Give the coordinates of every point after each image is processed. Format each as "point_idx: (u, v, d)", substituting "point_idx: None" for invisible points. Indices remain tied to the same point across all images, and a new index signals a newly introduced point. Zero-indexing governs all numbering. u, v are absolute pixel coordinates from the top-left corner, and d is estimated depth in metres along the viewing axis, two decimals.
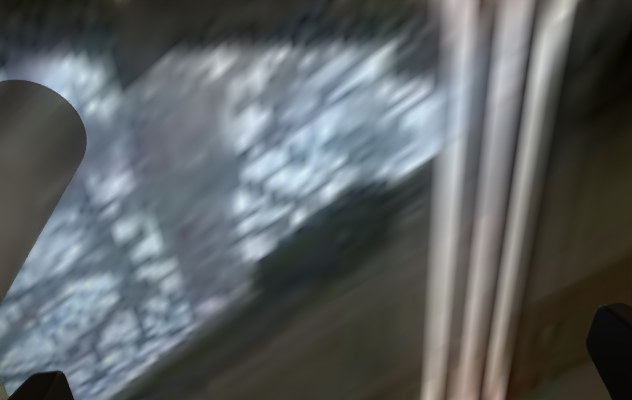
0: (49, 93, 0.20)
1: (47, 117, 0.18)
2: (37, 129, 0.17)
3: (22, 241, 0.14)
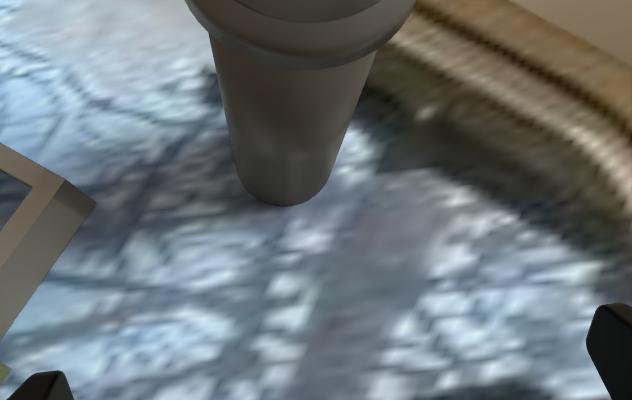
0: None
1: None
2: None
3: (348, 118, 0.16)
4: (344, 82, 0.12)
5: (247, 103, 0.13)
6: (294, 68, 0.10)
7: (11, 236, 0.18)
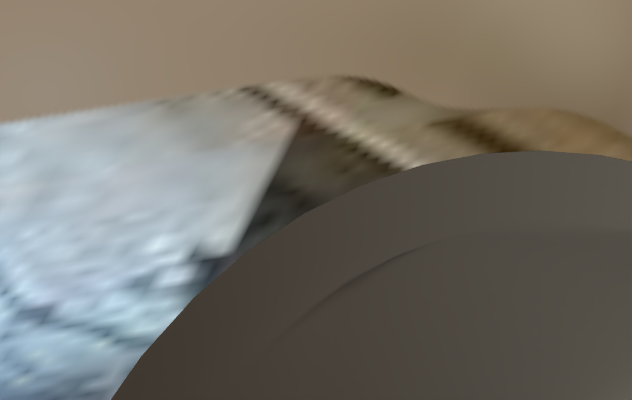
0: None
1: None
2: None
3: None
4: None
5: None
6: None
7: None
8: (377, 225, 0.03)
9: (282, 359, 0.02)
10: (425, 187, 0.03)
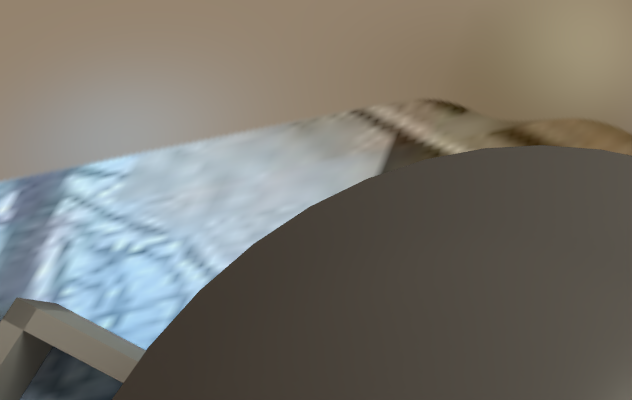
0: None
1: None
2: None
3: None
4: None
5: None
6: None
7: None
8: (381, 219, 0.03)
9: (287, 351, 0.02)
10: (429, 181, 0.03)
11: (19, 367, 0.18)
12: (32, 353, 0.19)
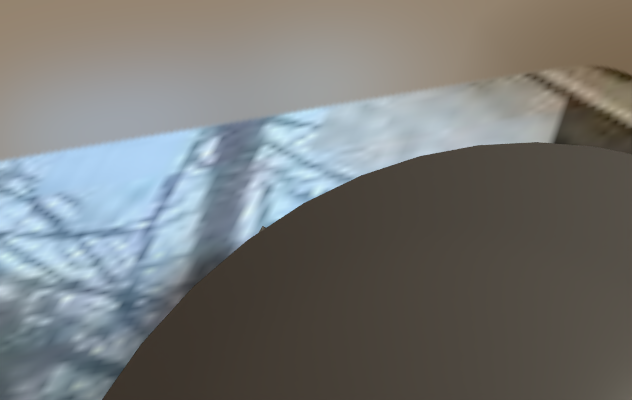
0: None
1: None
2: None
3: None
4: None
5: None
6: None
7: None
8: (375, 215, 0.03)
9: (280, 347, 0.02)
10: (422, 178, 0.03)
11: None
12: None
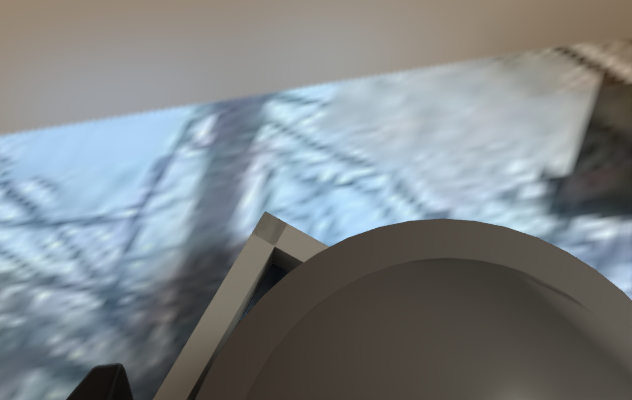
0: None
1: None
2: None
3: None
4: None
5: None
6: None
7: None
8: (354, 259, 0.05)
9: (306, 328, 0.05)
10: (380, 239, 0.05)
11: (251, 292, 0.17)
12: (259, 280, 0.17)
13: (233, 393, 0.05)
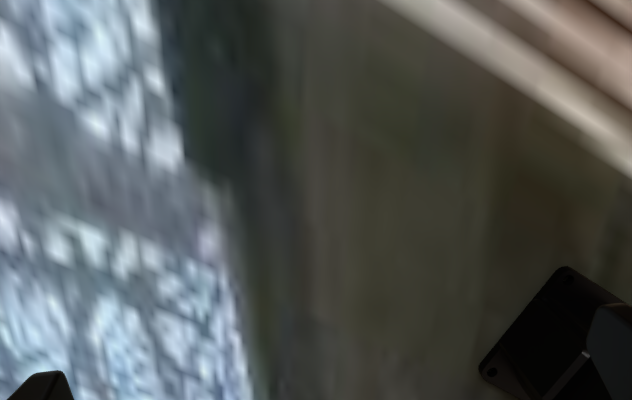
0: None
1: None
2: None
3: None
4: None
5: None
6: None
7: None
8: None
9: None
10: None
11: None
12: None
13: None
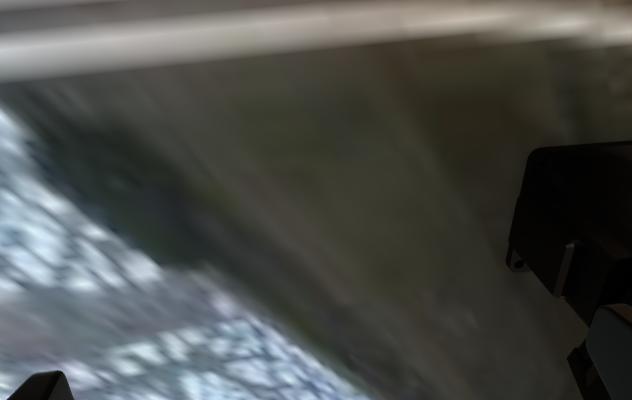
0: None
1: None
2: None
3: None
4: None
5: None
6: None
7: None
8: None
9: None
10: None
11: None
12: None
13: None
